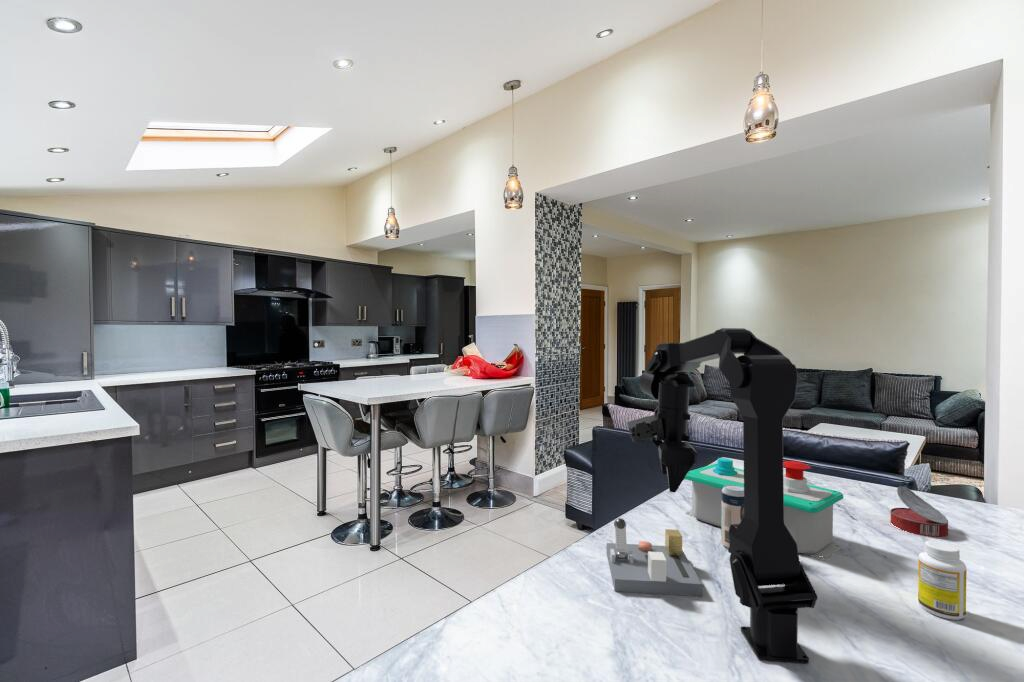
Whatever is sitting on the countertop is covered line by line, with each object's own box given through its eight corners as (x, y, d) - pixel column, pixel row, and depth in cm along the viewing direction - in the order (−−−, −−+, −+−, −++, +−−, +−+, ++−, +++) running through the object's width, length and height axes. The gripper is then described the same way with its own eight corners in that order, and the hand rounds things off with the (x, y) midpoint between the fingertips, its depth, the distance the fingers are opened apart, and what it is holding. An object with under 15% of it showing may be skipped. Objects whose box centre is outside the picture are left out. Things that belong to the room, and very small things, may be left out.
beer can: (750, 553, 94) (750, 492, 94) (724, 550, 95) (724, 490, 94) (743, 542, 98) (744, 484, 98) (718, 540, 99) (719, 483, 99)
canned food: (916, 541, 111) (935, 503, 111) (951, 556, 101) (972, 514, 101) (869, 516, 112) (888, 478, 113) (899, 528, 103) (920, 487, 103)
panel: (701, 596, 78) (702, 575, 78) (614, 591, 79) (614, 570, 79) (680, 556, 92) (680, 539, 92) (606, 553, 93) (606, 535, 93)
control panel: (712, 439, 122) (849, 464, 98) (711, 503, 122) (848, 544, 98) (678, 447, 113) (820, 476, 89) (677, 516, 113) (819, 565, 89)
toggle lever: (628, 559, 85) (626, 517, 88) (616, 558, 85) (614, 517, 88) (627, 560, 86) (625, 519, 90) (615, 559, 87) (613, 519, 90)
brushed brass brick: (682, 555, 87) (682, 536, 87) (668, 554, 87) (668, 535, 87) (678, 548, 90) (678, 529, 90) (665, 547, 90) (665, 529, 90)
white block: (666, 581, 78) (666, 560, 78) (651, 580, 78) (651, 559, 78) (662, 572, 81) (662, 552, 81) (647, 571, 81) (648, 551, 81)
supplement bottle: (939, 600, 77) (940, 537, 77) (976, 620, 72) (977, 553, 72) (908, 602, 77) (909, 538, 77) (942, 622, 71) (943, 554, 71)
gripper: (627, 394, 104) (624, 463, 106) (635, 415, 86) (631, 498, 87) (680, 396, 102) (676, 467, 104) (700, 419, 84) (694, 504, 86)
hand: (668, 482), depth 95 cm, fingers open, 9 cm apart
